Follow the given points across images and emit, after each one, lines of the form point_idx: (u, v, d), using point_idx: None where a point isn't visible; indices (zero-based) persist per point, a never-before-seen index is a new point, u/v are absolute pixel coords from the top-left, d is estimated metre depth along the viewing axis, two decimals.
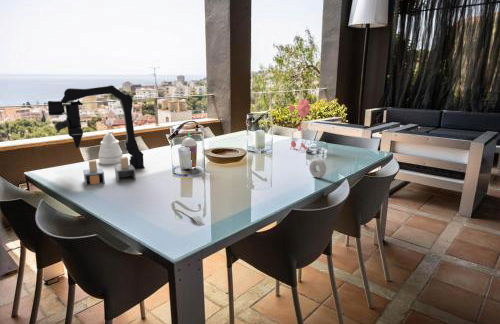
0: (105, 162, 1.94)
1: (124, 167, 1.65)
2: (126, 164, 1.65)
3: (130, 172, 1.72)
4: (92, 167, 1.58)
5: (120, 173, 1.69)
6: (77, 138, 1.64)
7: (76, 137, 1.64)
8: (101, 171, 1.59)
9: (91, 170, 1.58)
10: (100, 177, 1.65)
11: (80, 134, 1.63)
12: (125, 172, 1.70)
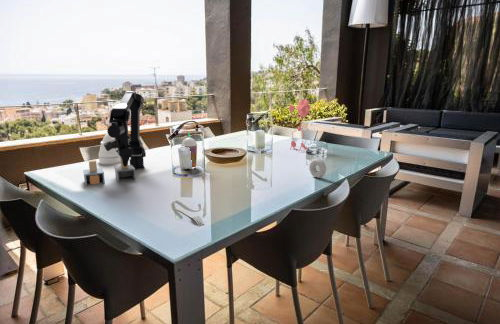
0: (105, 162, 1.94)
1: (124, 167, 1.65)
2: None
3: (130, 172, 1.72)
4: (92, 167, 1.58)
5: (120, 173, 1.69)
6: (125, 157, 1.63)
7: (125, 156, 1.62)
8: (101, 171, 1.59)
9: (91, 170, 1.58)
10: (100, 177, 1.65)
11: None
12: (125, 172, 1.70)
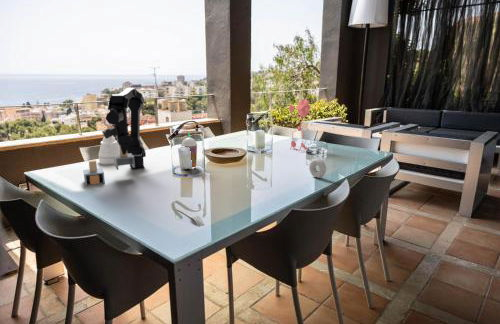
0: (105, 162, 1.94)
1: (123, 155, 1.63)
2: None
3: (129, 161, 1.70)
4: (92, 167, 1.58)
5: (119, 161, 1.68)
6: (124, 145, 1.61)
7: (124, 144, 1.61)
8: (101, 171, 1.59)
9: (91, 170, 1.58)
10: (100, 177, 1.65)
11: None
12: (124, 160, 1.69)
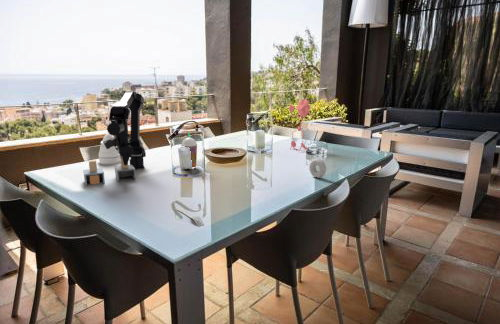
0: (105, 162, 1.94)
1: (124, 167, 1.65)
2: None
3: (130, 172, 1.72)
4: (92, 167, 1.58)
5: (120, 173, 1.69)
6: (126, 156, 1.61)
7: (125, 155, 1.61)
8: (101, 171, 1.59)
9: (91, 170, 1.58)
10: (100, 177, 1.65)
11: None
12: (125, 172, 1.70)
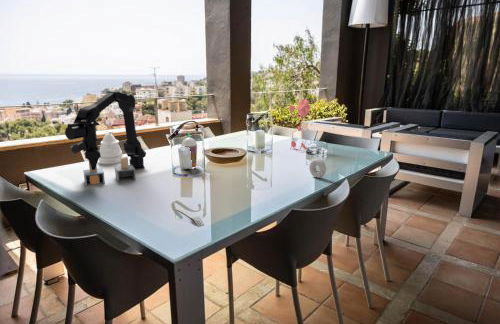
0: (105, 162, 1.94)
1: (124, 167, 1.65)
2: (126, 164, 1.65)
3: (130, 172, 1.72)
4: None
5: (120, 173, 1.69)
6: (93, 160, 1.56)
7: (92, 159, 1.56)
8: (101, 171, 1.59)
9: (91, 170, 1.58)
10: (100, 177, 1.65)
11: None
12: (125, 172, 1.70)
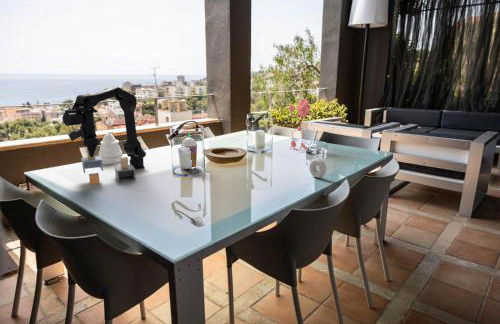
0: (105, 162, 1.94)
1: (124, 167, 1.65)
2: (126, 164, 1.65)
3: (130, 172, 1.72)
4: None
5: (120, 173, 1.69)
6: (92, 147, 1.56)
7: (91, 146, 1.55)
8: (99, 158, 1.59)
9: (89, 157, 1.57)
10: (98, 165, 1.65)
11: (95, 143, 1.54)
12: (125, 172, 1.70)
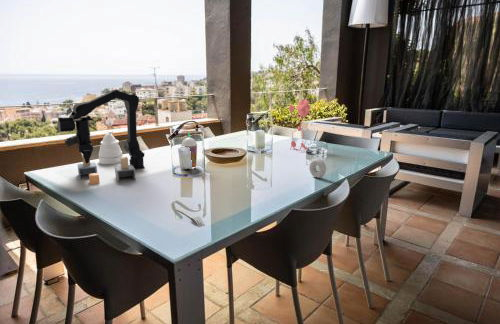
0: (105, 162, 1.94)
1: (124, 167, 1.65)
2: (126, 164, 1.65)
3: (130, 172, 1.72)
4: None
5: (120, 173, 1.69)
6: (87, 154, 1.64)
7: (86, 153, 1.63)
8: (94, 165, 1.70)
9: (84, 164, 1.68)
10: (93, 171, 1.75)
11: (90, 150, 1.62)
12: (125, 172, 1.70)
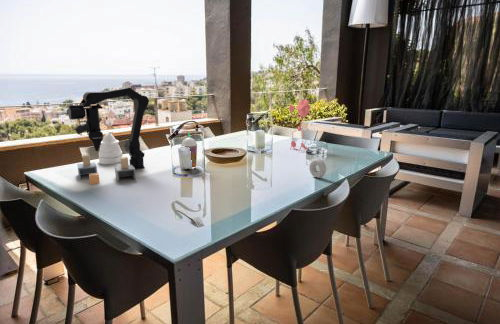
0: (105, 162, 1.94)
1: (124, 167, 1.65)
2: (126, 164, 1.65)
3: (130, 172, 1.72)
4: (85, 161, 1.68)
5: (120, 173, 1.69)
6: (97, 141, 1.65)
7: (96, 140, 1.65)
8: (94, 165, 1.70)
9: (84, 164, 1.68)
10: (93, 171, 1.75)
11: (100, 138, 1.64)
12: (125, 172, 1.70)
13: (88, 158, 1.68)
